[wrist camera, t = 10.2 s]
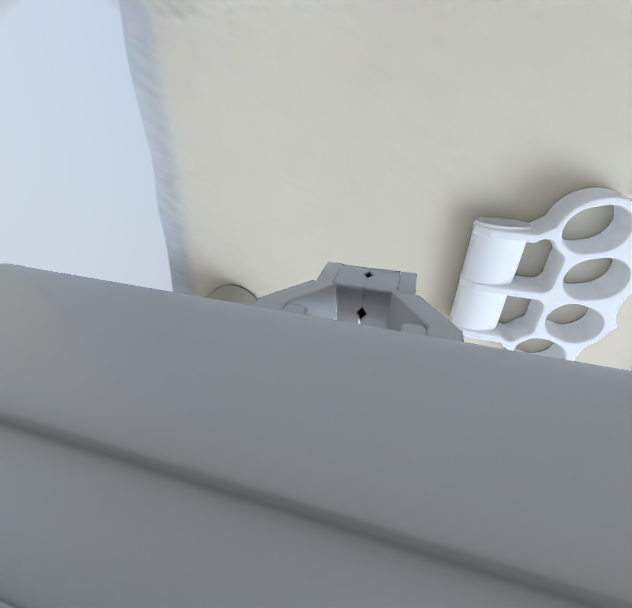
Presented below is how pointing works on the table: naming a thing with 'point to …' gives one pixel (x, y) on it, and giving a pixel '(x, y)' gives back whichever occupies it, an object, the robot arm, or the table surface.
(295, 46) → the table surface
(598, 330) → the knuckle duster
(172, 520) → the robot arm
